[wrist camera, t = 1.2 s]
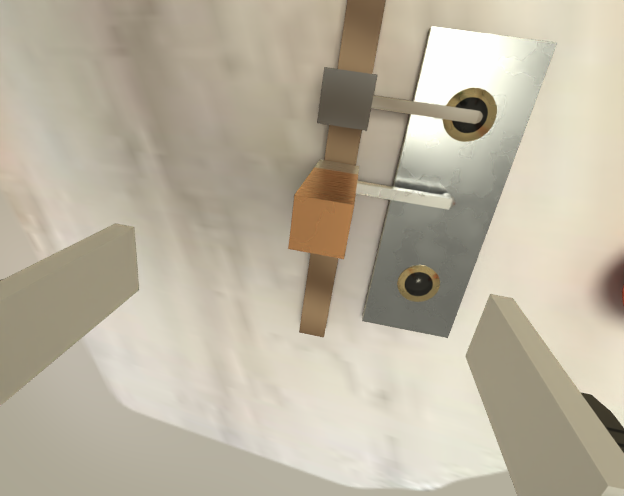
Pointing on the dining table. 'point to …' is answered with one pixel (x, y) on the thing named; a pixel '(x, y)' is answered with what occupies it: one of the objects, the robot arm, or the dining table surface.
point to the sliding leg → (341, 206)
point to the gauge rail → (355, 129)
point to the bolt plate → (452, 174)
